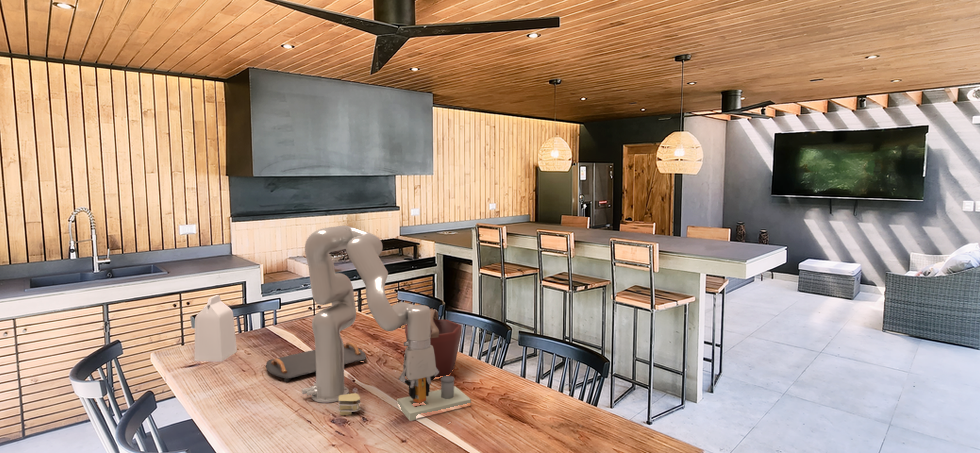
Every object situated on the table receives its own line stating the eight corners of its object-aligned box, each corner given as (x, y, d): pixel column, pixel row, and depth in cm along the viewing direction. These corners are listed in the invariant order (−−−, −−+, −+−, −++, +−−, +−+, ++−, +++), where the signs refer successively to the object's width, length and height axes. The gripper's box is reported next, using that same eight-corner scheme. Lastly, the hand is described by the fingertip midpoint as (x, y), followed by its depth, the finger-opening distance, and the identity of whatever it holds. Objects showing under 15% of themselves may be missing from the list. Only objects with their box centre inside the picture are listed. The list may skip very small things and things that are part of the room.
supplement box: (419, 397, 169) (419, 369, 168) (426, 400, 167) (426, 372, 166) (412, 401, 166) (412, 372, 166) (419, 404, 164) (419, 374, 163)
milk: (221, 361, 207) (219, 300, 204) (194, 361, 207) (191, 299, 205) (237, 351, 219) (235, 293, 216) (211, 351, 219) (208, 293, 217)
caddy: (410, 421, 159) (410, 394, 158) (397, 406, 169) (397, 381, 169) (470, 406, 170) (471, 381, 169) (455, 392, 180) (455, 369, 180)
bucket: (449, 387, 185) (449, 321, 183) (393, 381, 190) (392, 317, 187) (465, 363, 209) (465, 305, 207) (415, 359, 214) (415, 301, 211)
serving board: (279, 387, 184) (278, 371, 183) (259, 368, 201) (258, 353, 201) (373, 362, 210) (373, 348, 209) (348, 348, 227) (348, 334, 226)
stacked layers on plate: (333, 421, 159) (333, 405, 158) (334, 408, 167) (334, 393, 167) (365, 418, 161) (365, 401, 161) (365, 405, 170) (365, 390, 169)
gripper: (398, 350, 157) (399, 406, 159) (446, 342, 166) (446, 395, 168) (390, 343, 164) (391, 397, 166) (437, 336, 172) (437, 387, 174)
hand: (419, 395), depth 167 cm, fingers closed on supplement box, 4 cm apart
